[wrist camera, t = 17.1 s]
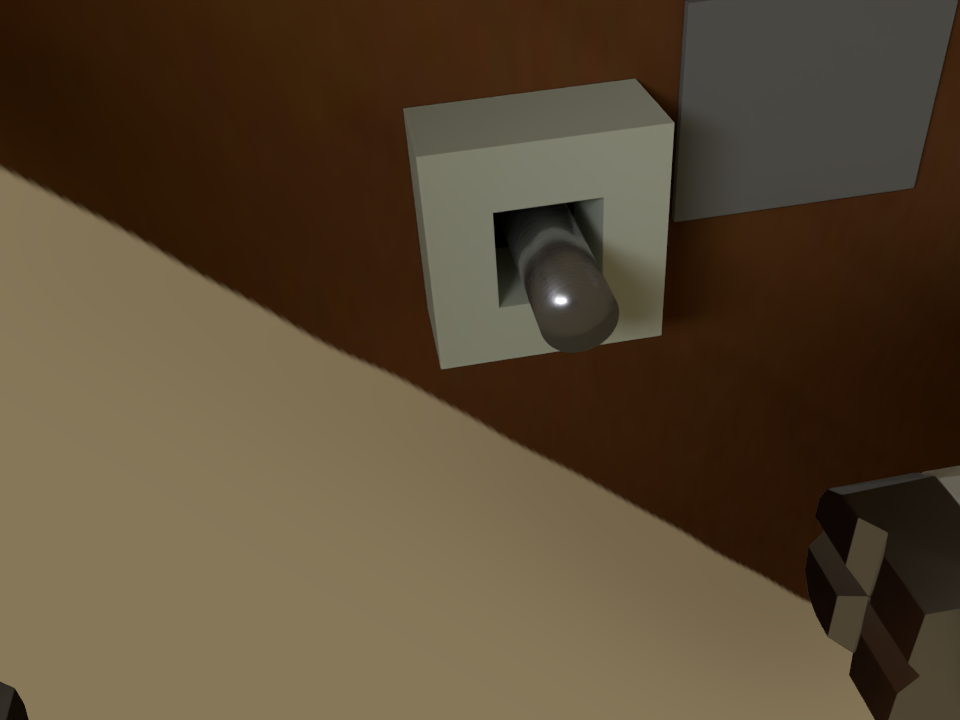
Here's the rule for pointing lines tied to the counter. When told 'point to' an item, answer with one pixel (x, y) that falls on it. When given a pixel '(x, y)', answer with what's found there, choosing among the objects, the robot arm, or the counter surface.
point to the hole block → (531, 183)
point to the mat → (803, 100)
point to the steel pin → (560, 277)
